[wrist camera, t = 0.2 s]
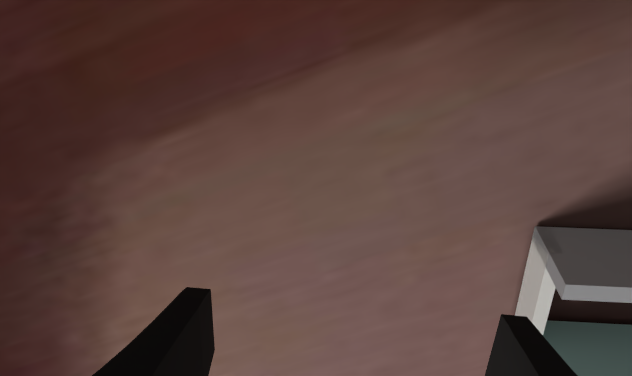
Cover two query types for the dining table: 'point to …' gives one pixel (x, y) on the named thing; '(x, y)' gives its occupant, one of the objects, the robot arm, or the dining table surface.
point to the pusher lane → (575, 269)
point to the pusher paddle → (592, 347)
